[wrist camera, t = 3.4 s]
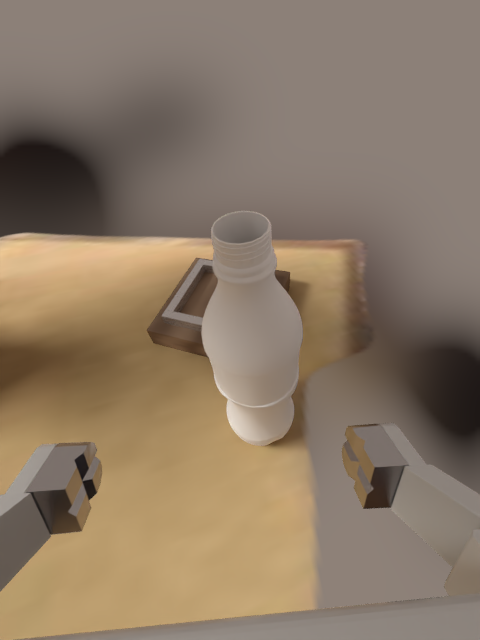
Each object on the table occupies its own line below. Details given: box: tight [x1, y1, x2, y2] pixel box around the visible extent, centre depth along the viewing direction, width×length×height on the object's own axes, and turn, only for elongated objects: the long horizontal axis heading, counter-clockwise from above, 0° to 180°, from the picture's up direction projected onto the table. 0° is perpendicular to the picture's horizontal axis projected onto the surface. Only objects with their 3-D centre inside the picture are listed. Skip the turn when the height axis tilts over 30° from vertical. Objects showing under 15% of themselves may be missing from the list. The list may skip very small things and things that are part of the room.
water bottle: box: [201, 211, 303, 446], centre depth 24 cm, size 7×7×25 cm
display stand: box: [147, 258, 290, 357], centre depth 43 cm, size 16×16×4 cm
